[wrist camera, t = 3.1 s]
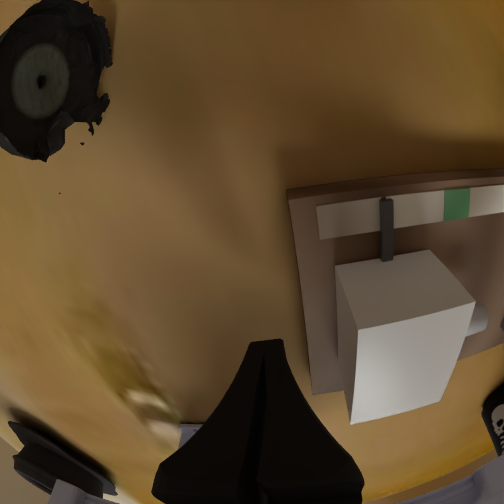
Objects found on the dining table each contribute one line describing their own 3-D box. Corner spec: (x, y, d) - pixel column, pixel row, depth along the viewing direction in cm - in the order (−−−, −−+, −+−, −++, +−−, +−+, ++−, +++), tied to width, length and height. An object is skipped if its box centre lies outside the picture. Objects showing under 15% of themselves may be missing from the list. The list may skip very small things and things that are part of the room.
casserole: (-7, 400, 28) (-28, 436, 20) (71, 432, 26) (49, 483, 19) (66, 470, 39) (56, 500, 32) (142, 494, 37) (133, 530, 30)
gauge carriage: (337, 362, 15) (350, 424, 11) (329, 206, 11) (358, 254, 7) (450, 335, 14) (479, 385, 10) (475, 188, 10) (534, 222, 6)
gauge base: (310, 376, 18) (312, 396, 16) (285, 189, 12) (288, 200, 11) (522, 318, 15) (532, 330, 14) (554, 167, 10) (570, 174, 9)
